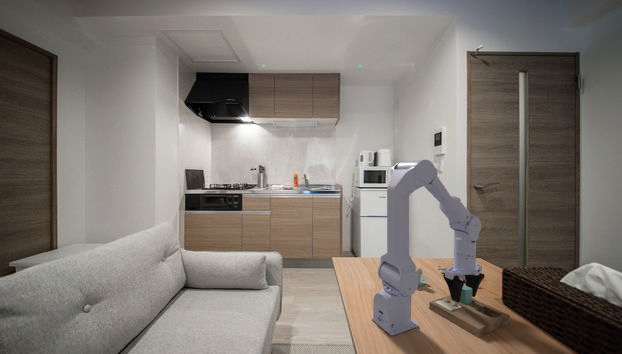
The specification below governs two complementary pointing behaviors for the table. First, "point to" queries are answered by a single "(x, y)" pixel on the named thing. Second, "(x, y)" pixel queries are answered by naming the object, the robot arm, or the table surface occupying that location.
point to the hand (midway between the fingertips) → (463, 298)
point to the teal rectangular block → (466, 295)
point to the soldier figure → (447, 269)
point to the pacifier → (421, 277)
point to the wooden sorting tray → (470, 315)
